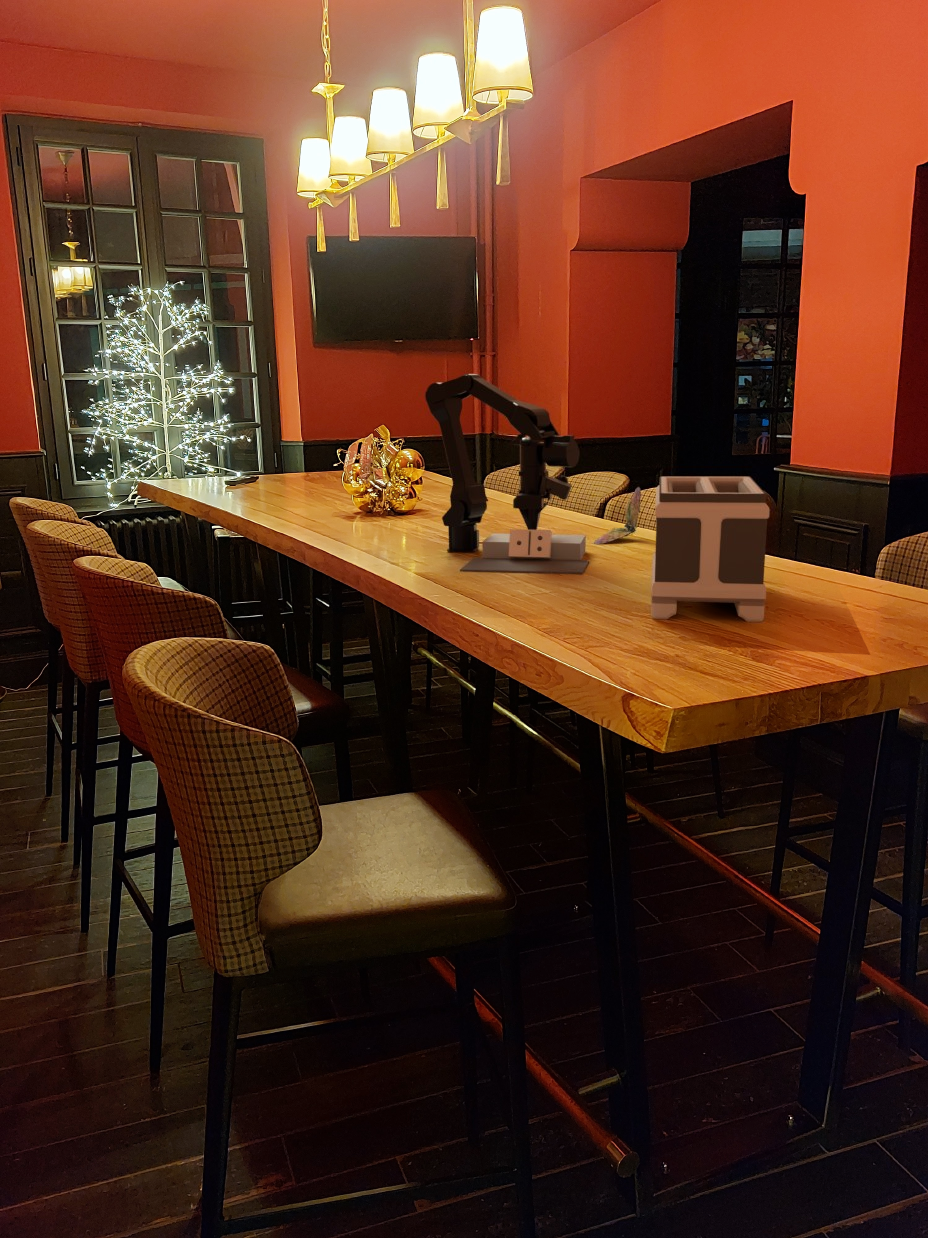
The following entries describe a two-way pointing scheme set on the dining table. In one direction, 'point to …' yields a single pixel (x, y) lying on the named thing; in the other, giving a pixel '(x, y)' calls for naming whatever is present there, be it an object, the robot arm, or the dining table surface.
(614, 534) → the butterfly
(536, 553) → the domino
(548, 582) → the dining table surface
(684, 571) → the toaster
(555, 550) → the block
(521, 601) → the dining table surface
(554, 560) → the mat
